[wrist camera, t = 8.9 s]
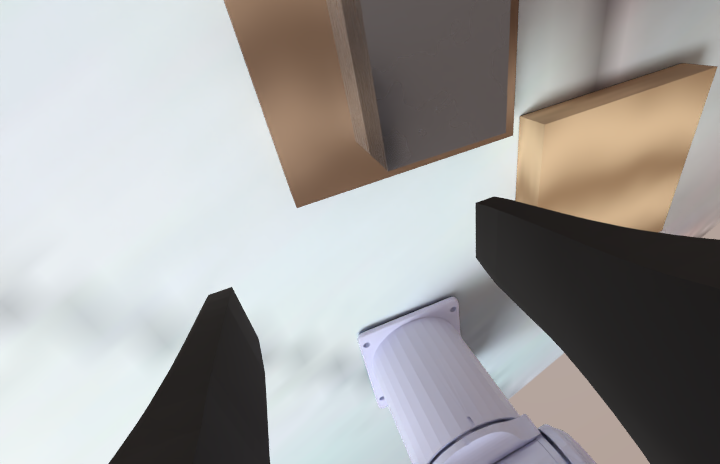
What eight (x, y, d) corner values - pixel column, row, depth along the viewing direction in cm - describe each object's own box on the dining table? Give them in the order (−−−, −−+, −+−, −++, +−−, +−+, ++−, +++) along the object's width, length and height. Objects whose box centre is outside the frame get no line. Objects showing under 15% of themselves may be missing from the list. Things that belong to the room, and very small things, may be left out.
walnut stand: (490, 126, 21) (513, 135, 19) (290, 191, 19) (296, 208, 17) (492, -173, 14) (527, -198, 12) (183, -117, 12) (176, -137, 10)
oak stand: (637, 218, 29) (661, 230, 28) (511, 269, 28) (529, 285, 26) (682, 63, 23) (717, 66, 21) (520, 116, 21) (545, 124, 19)
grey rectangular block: (442, -113, 13) (516, -158, 10) (452, 110, 17) (505, 132, 14) (308, -86, 12) (339, -125, 9) (355, 141, 16) (388, 171, 13)
